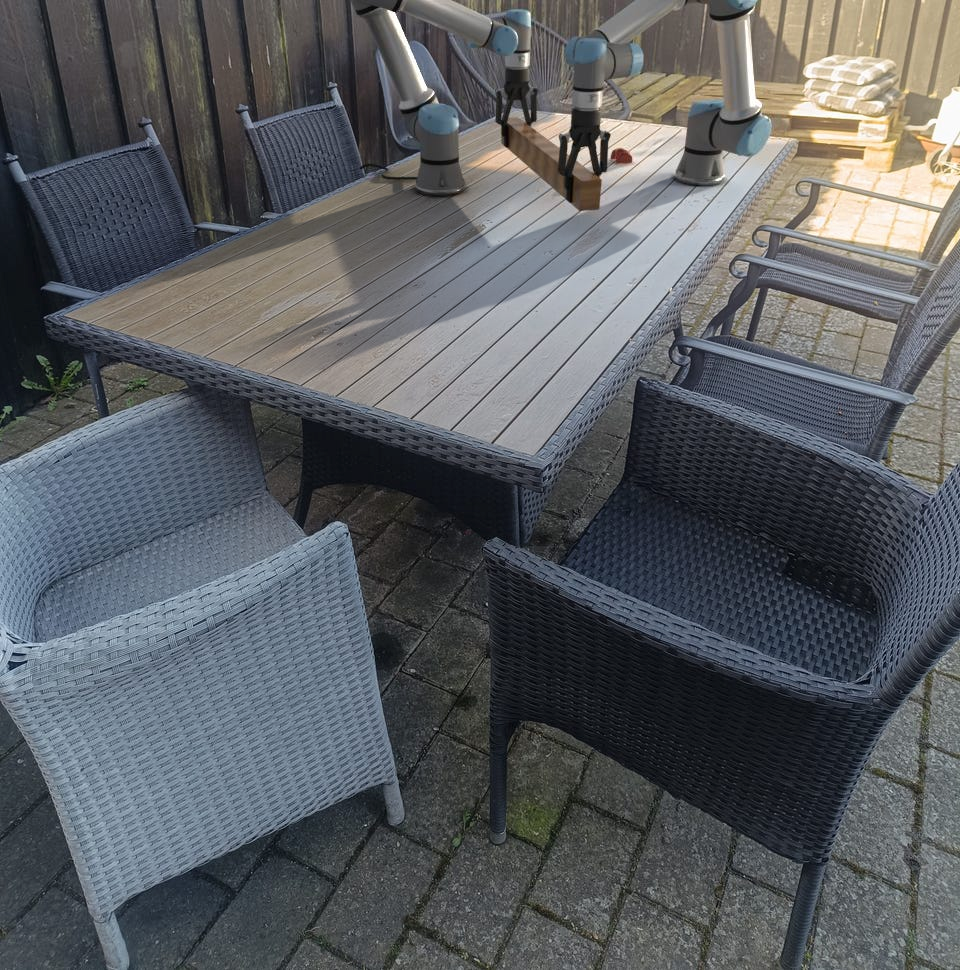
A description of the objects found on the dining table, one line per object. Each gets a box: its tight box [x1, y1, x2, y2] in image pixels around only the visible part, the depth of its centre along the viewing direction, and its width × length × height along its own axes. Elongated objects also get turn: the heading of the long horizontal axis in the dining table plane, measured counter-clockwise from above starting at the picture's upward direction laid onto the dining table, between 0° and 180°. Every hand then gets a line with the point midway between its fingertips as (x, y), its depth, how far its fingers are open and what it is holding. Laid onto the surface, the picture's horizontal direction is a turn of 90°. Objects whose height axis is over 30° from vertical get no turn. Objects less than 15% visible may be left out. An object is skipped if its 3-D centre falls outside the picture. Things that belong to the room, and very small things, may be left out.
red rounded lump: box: [610, 147, 633, 165], centre depth 283 cm, size 6×4×8 cm
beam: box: [500, 116, 603, 212], centre depth 247 cm, size 73×6×8 cm, turn 15°
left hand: (515, 145), depth 272 cm, fingers closed on beam, 6 cm apart
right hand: (580, 200), depth 226 cm, fingers closed on beam, 6 cm apart
